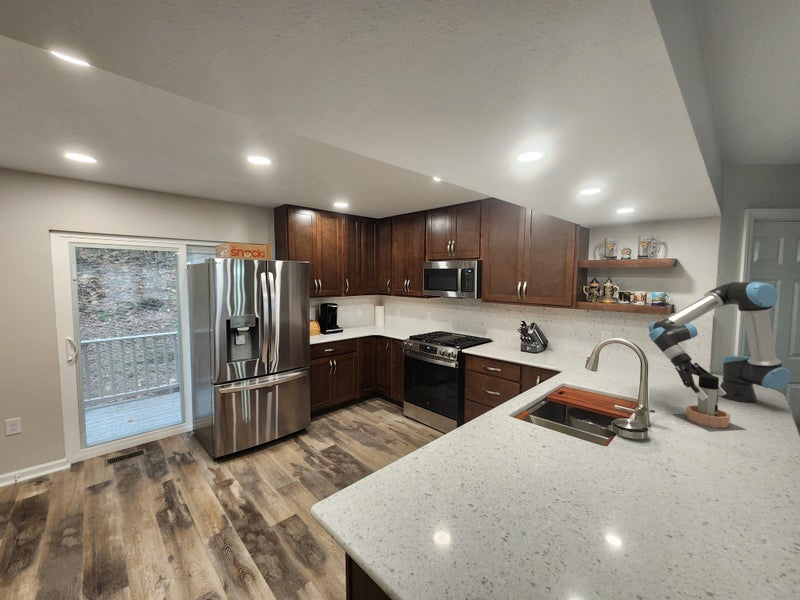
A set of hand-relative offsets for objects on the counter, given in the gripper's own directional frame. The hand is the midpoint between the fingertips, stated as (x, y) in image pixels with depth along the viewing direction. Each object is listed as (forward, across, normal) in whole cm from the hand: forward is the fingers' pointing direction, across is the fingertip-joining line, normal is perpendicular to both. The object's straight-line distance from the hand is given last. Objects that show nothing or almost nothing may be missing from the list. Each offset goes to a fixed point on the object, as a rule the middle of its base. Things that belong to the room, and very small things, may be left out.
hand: (714, 397), depth 147 cm
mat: (+8, 0, -10) cm, 13 cm away
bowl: (+7, 0, -10) cm, 12 cm away
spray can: (+7, 0, -10) cm, 12 cm away
